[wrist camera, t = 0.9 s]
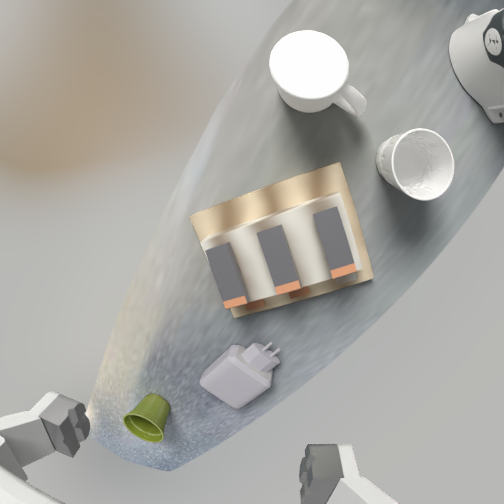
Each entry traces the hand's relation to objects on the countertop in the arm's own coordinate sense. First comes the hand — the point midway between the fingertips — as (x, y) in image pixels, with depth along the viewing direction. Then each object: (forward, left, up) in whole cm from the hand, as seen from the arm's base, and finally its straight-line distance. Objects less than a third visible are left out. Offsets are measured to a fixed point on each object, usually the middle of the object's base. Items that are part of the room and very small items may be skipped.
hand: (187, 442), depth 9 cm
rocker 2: (0, +4, -30) cm, 30 cm away
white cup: (-17, -7, -36) cm, 41 cm away
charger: (+7, +25, -36) cm, 45 cm away
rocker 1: (+6, +6, -30) cm, 31 cm away
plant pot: (+30, +39, -36) cm, 61 cm away
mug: (-7, -17, -36) cm, 41 cm away
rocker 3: (-7, +2, -30) cm, 31 cm away
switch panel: (0, +4, -36) cm, 36 cm away
